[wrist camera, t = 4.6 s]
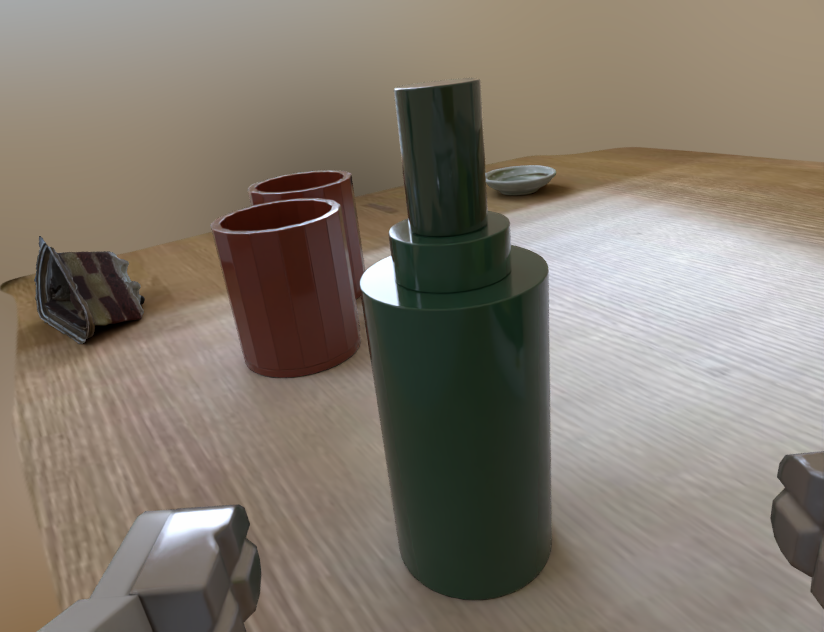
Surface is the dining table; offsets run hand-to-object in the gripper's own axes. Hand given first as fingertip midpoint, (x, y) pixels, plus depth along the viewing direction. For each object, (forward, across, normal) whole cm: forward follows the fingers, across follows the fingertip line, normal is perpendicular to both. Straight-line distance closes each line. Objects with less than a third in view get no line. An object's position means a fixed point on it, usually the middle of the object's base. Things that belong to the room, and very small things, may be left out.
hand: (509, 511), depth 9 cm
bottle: (+12, 0, +12) cm, 17 cm away
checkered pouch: (+42, +30, +12) cm, 53 cm away
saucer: (+73, -12, +13) cm, 75 cm away
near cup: (+32, +11, +12) cm, 35 cm away
